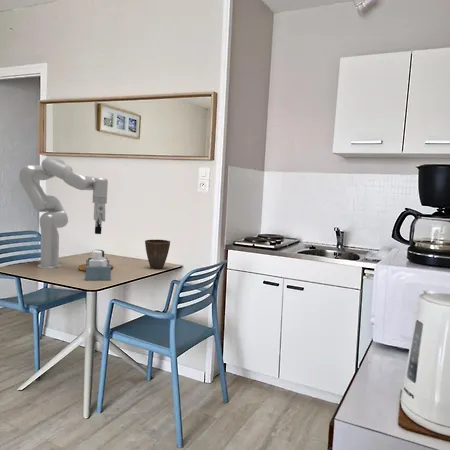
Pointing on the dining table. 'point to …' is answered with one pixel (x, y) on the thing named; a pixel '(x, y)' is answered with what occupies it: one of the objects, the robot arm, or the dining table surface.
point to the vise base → (98, 272)
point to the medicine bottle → (98, 258)
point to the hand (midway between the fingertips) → (97, 233)
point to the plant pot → (157, 252)
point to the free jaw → (92, 258)
